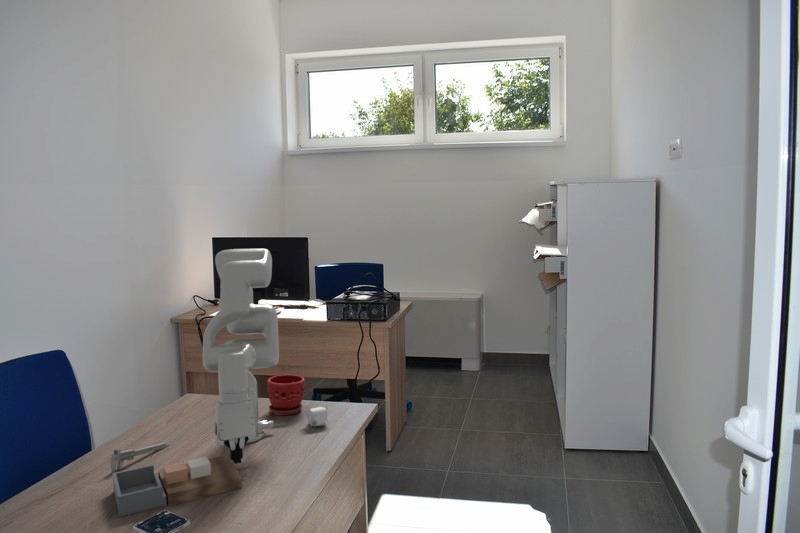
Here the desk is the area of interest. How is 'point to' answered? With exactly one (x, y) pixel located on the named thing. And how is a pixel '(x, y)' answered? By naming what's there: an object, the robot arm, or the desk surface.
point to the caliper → (131, 455)
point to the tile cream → (198, 467)
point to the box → (138, 490)
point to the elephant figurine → (316, 415)
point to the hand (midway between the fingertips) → (236, 461)
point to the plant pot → (285, 394)
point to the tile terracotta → (175, 473)
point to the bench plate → (203, 482)
